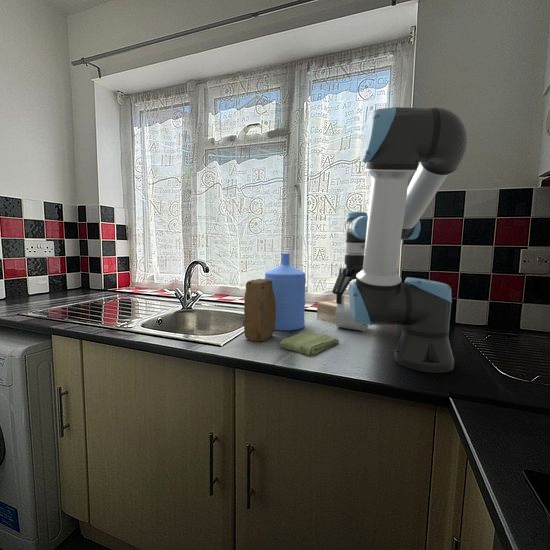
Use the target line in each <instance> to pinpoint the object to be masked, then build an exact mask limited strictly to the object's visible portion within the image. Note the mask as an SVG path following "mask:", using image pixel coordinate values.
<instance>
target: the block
mask: <svg viewBox="0 0 550 550" xmlns="http://www.w3.org/2000/svg"><path fill="white" fill-rule="evenodd" d="M243 305H244V307H243V309H244V310H243V311H244V312H243V330H244V337H245V339H247V340H249V341H252V342H265V341H269V340H270V338H271V337H272V336H273V334H274V332H275V330H274V329H275V320H276V302H275V295H274V291H273V285H272V281H271V280H268V279H265V278H257V279H251V280H248V281H247V282H246V283H245V292H244V303H243Z"/></svg>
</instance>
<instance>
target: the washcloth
mask: <svg viewBox="0 0 550 550" xmlns="http://www.w3.org/2000/svg"><path fill="white" fill-rule="evenodd" d="M338 343H340V340H339V339H338V338H336V337H335V336H331V335H328V334H325V333H320V332H319V333H317V332H315V331H313V330H305V331H301V332H300V333H297V334H295V335H292V336H288V337H285V338H284V339H282V340H281V341H280V343H279V345H280V348H282V349H284V348H286V349H285V350H289V351H291V350H292V351H291V352H298V353H300V354H302V353H303V355H306V356H310V355H313V354H314V355H317V354H320V353H321V352H323V351H325V350H327V349H328V348H331V347H333V346H334V345H336V344H338ZM319 352H320V353H319ZM314 355H313V356H314Z"/></svg>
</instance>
